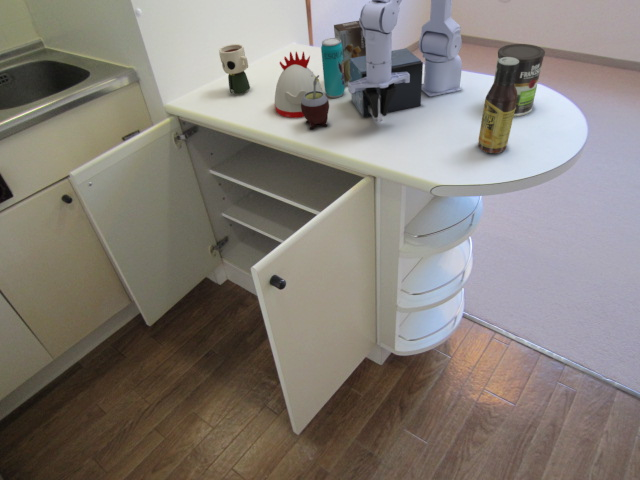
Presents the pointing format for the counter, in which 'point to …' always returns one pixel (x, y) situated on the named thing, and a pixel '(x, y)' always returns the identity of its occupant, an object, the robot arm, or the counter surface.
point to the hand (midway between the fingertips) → (379, 115)
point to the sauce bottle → (499, 108)
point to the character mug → (235, 67)
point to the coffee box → (350, 44)
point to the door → (399, 91)
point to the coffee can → (524, 73)
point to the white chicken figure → (294, 86)
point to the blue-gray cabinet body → (359, 67)
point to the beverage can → (333, 67)
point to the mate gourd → (315, 107)
